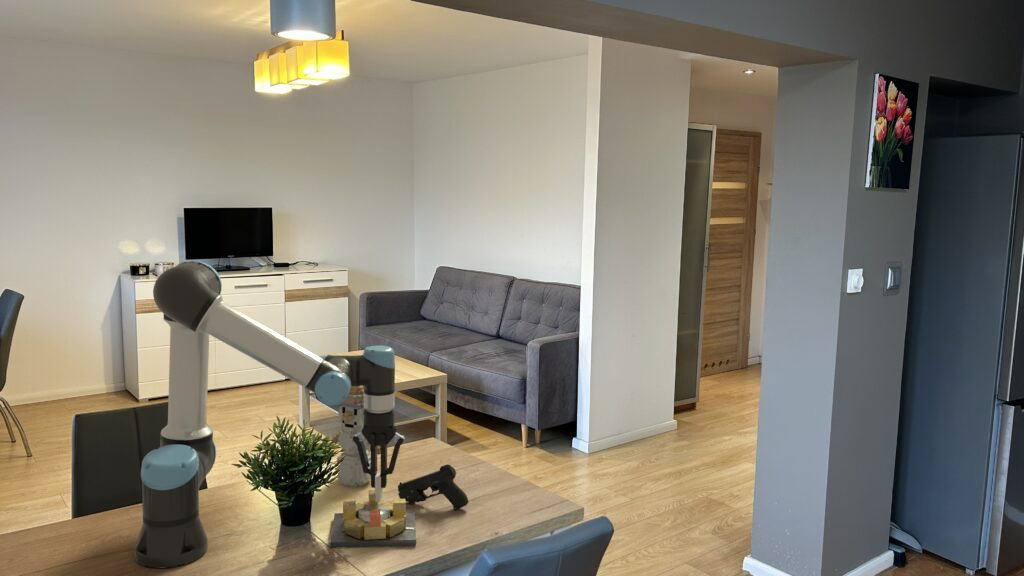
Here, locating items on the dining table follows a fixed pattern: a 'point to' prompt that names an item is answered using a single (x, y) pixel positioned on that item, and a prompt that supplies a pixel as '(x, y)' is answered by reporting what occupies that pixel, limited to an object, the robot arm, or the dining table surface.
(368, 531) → the ring nut
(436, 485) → the handgun
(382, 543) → the base plate
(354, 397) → the toy
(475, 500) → the dining table surface
